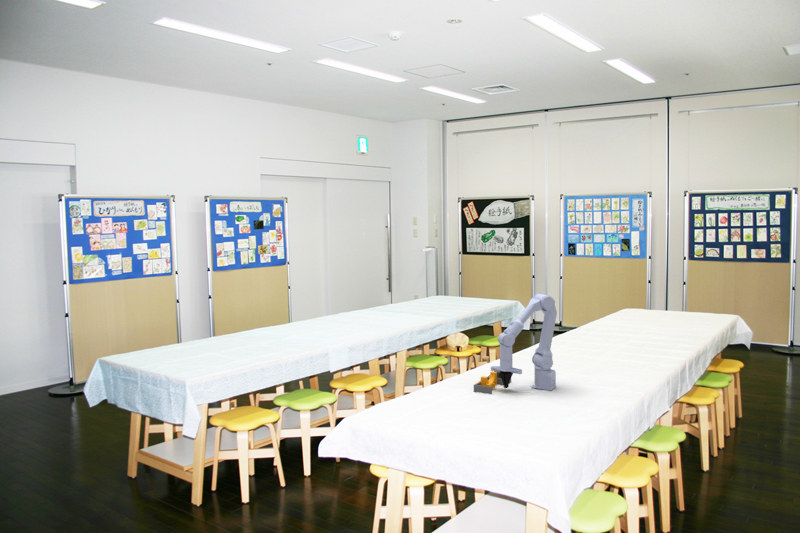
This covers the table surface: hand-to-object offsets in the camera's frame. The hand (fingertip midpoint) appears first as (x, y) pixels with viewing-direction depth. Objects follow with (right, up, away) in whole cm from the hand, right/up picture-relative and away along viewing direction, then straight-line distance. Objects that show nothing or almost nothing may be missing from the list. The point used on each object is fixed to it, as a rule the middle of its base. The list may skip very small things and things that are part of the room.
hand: (506, 387), depth 272 cm
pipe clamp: (-7, -2, +5) cm, 8 cm away
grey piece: (-5, -1, +6) cm, 8 cm away
